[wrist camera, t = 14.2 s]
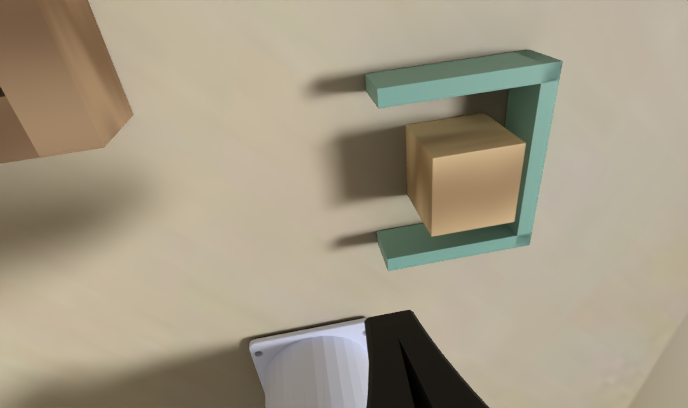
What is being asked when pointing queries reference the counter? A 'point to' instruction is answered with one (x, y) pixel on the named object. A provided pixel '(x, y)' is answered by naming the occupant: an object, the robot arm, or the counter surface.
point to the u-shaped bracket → (521, 119)
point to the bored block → (55, 81)
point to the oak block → (463, 172)
